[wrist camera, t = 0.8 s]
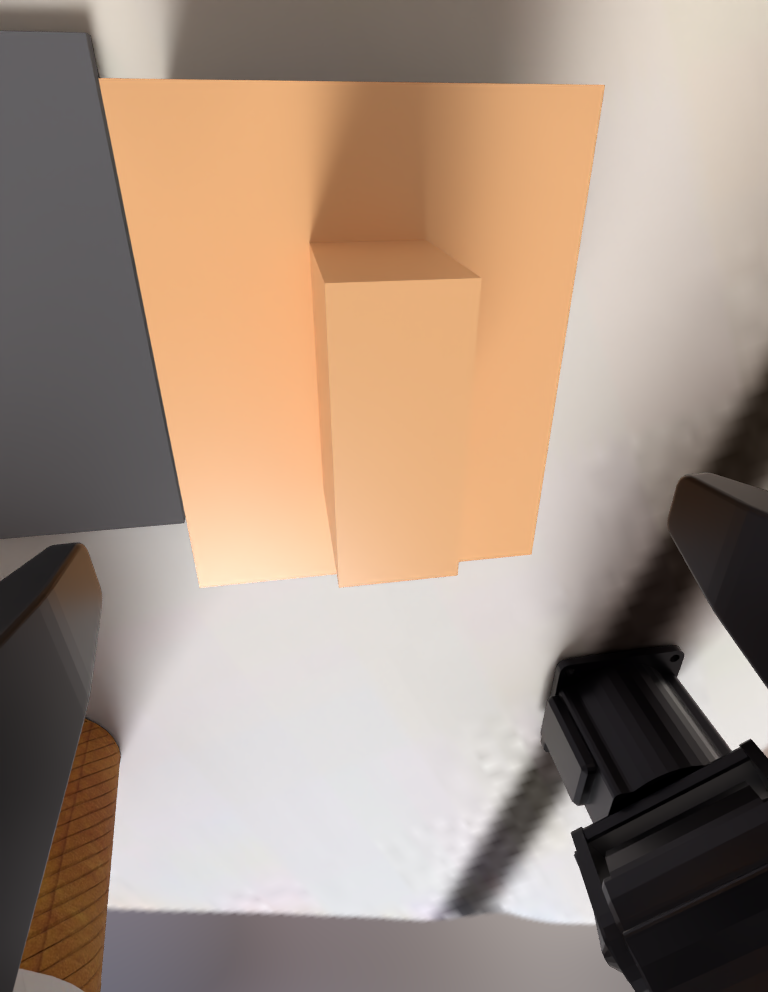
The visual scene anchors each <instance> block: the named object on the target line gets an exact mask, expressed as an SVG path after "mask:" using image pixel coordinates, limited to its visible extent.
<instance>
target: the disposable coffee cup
mask: <svg viewBox="0 0 768 992" xmlns="http://www.w3.org/2000/svg"><path fill="white" fill-rule="evenodd" d="M120 758H121V756H120V751H119V747H118V745H117V744H116V742H115V740H114V739H113V737H112V736H111V735H110V734H109V733H108V732H107V731H106V730H105V729H103V728H102V727H101V726H99V725H98V724H96V723H94V722H92V721H90V720H87V719H84V723H83V727H82V731H81V734H80V738H79V742H78V746H77V750H76V753H75V757H74V761H73V765H72V769H71V772H70V776H69V780H68V784H67V788H66V792H65V795H64V799H63V803H62V807H61V811H60V814H59V818H58V822H57V826H56V830H55V833H54V837H53V841H52V845H51V849H50V852H49V856H48V860H47V864H46V868H45V872H44V875H43V879H42V883H41V887H40V891H39V894H38V898H37V902H36V906H35V910H34V913H33V917H32V921H31V925H30V929H29V932H28V936H27V940H26V944H25V948H24V952H23V955H22V959H21V963H20V967H19V971H18V974H17V978H16V982H15V986H14V990H13V992H100V989H101V972H102V961H103V950H104V939H105V927H106V924H105V923H106V915H107V904H108V892H109V881H110V870H111V857H112V847H113V835H114V822H115V811H116V798H117V788H118V777H119V765H120Z"/></svg>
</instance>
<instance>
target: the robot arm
mask: <svg viewBox="0 0 768 992" xmlns="http://www.w3.org/2000/svg"><path fill="white" fill-rule="evenodd" d="M668 529H669V532H670V535H671V537H672V538H673V540H674V542H675V544H676V546H677V547H678V549H679V551H680V553H681V555H682V556H683V558H684V560H685V562H686V564H687V565H688V567H689V569H690V571H691V572H692V574H693V576H694V578H695V580H696V581H697V583H698V585H699V587H700V589H701V590H702V592H703V594H704V596H705V598H706V599H707V601H708V603H709V604H710V606H711V608H712V609H713V611H714V612H715V614H716V615H717V617H718V618H719V620H720V621H721V623H722V624H723V626H724V627H725V629H726V630H727V631H728V633H729V634H730V636H731V637H732V639H733V640H734V641H735V643H736V644H737V646H738V647H739V649H740V650H741V651H742V653H743V654H744V656H745V657H746V658H747V660H748V661H749V663H750V664H751V666H752V667H753V668H754V670H755V671H756V673H757V674H758V676H759V677H760V678H761V680H762V681H763V683H764V684H765V686H766V687H767V688H768V491H766V490H763V489H760V488H757V487H754V486H750V485H747V484H744V483H741V482H738V481H735V480H731V479H728V478H725V477H722V476H719V475H715V474H712V473H697V474H689V475H685V476H683V477H681V478H680V480H679V481H678V483H677V486H676V490H675V494H674V497H673V501H672V505H671V508H670V512H669V515H668ZM101 609H102V592H101V588H100V585H99V582H98V579H97V576H96V573H95V570H94V567H93V564H92V561H91V559H90V556H89V553H88V550H87V549H86V547H85V546H84V545H83V544H81V543H68V544H59V545H52V546H50V547H48V548H46V549H45V550H44V551H42V552H41V553H39V554H38V555H37V556H35V557H34V558H32V559H31V560H30V561H28V562H27V563H25V564H24V565H23V566H21V567H20V568H18V569H17V570H16V571H14V572H13V573H11V574H10V575H9V576H7V577H6V578H4V579H3V580H2V581H0V992H13V990H14V986H15V982H16V978H17V974H18V971H19V967H20V963H21V959H22V955H23V952H24V948H25V944H26V940H27V936H28V932H29V929H30V925H31V921H32V917H33V913H34V910H35V906H36V902H37V898H38V894H39V891H40V887H41V883H42V879H43V875H44V872H45V868H46V864H47V860H48V856H49V852H50V849H51V845H52V841H53V837H54V833H55V830H56V826H57V822H58V818H59V814H60V811H61V807H62V803H63V799H64V795H65V792H66V788H67V784H68V780H69V776H70V772H71V769H72V765H73V761H74V757H75V753H76V750H77V746H78V742H79V738H80V734H81V731H82V727H83V723H84V719H85V715H86V711H87V707H88V702H89V697H90V691H91V685H92V677H93V670H94V662H95V654H96V647H97V639H98V631H99V624H100V616H101ZM683 659H684V653H683V652H682V650H681V649H680V648H679V647H678V646H676V645H670V646H662V647H654V648H646V649H639V650H631V651H623V652H615V653H607V654H599V655H592V656H584V657H576V658H568V659H564V660H562V661H560V662H559V663H558V664H557V667H556V671H555V675H554V680H553V685H552V690H551V695H550V697H549V699H548V701H547V704H546V709H545V714H544V719H543V724H542V729H541V734H542V738H541V744H542V746H543V749H544V750H545V751H546V752H550V754H551V756H552V758H553V761H554V763H555V765H556V767H557V769H558V772H559V774H560V776H561V778H562V780H563V783H564V785H565V787H566V789H567V791H568V794H569V796H570V798H571V800H572V802H574V803H575V804H576V805H577V806H580V805H585V807H586V809H587V811H588V813H589V816H590V818H591V820H592V822H593V824H591V825H589V826H587V827H585V828H582V827H580V828H578V829H576V830H574V831H572V832H571V835H572V838H573V841H574V844H575V847H576V850H577V851H575V854H574V856H575V859H576V861H577V864H578V866H579V868H580V871H581V874H582V877H583V880H584V883H585V886H586V889H587V892H588V896H589V899H590V902H591V905H592V908H593V911H594V915H595V920H596V925H597V930H598V935H599V940H600V945H601V950H602V953H603V955H604V958H605V960H606V962H607V963H608V965H609V966H610V967H612V968H614V969H616V970H618V971H620V972H622V973H623V974H624V975H625V977H626V979H627V980H628V981H629V983H630V984H631V985H632V987H633V989H634V990H635V992H768V758H767V757H766V756H765V755H764V753H763V752H762V751H761V750H760V749H759V748H758V746H757V745H756V744H755V743H754V742H753V741H752V740H751V739H749V740H747V741H745V742H743V743H741V744H740V745H739V746H740V747H739V748H737V749H735V750H733V751H732V750H731V749H730V748H729V746H728V745H727V744H726V742H725V741H724V740H723V738H722V737H721V736H720V734H719V733H718V732H717V730H716V729H715V728H714V726H713V725H712V724H711V722H710V721H709V720H708V718H707V717H706V716H705V714H704V713H703V712H702V710H701V709H700V708H699V706H698V705H697V704H696V702H695V701H694V700H693V698H692V697H691V696H690V694H689V693H688V692H687V690H686V689H685V688H684V686H683V685H682V684H681V682H680V681H679V680H678V678H677V676H678V673H679V670H680V667H681V664H682V661H683Z"/></svg>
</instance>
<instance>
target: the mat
mask: <svg viewBox="0 0 768 992" xmlns="http://www.w3.org/2000/svg"><path fill="white" fill-rule="evenodd" d="M98 78H99V76H98V71H97V66H96V61H95V56H94V50H93V45H92V40H91V35H89V34H87V33H77V32H34V31H0V539H6V538H17V537H29V536H41V535H52V534H64V533H75V532H87V531H99V530H110V529H122V528H133V527H145V526H157V525H168V524H180V523H184V522H185V517H186V516H185V511H184V506H183V501H182V496H181V491H180V486H179V481H178V476H177V471H176V466H175V461H174V456H173V451H172V446H171V441H170V436H169V431H168V426H167V421H166V416H165V411H164V406H163V401H162V396H161V391H160V386H159V381H158V376H157V371H156V366H155V360H154V355H153V350H152V345H151V340H150V335H149V330H148V325H147V320H146V315H145V310H144V305H143V300H142V295H141V290H140V285H139V280H138V275H137V270H136V265H135V260H134V255H133V250H132V245H131V240H130V235H129V230H128V225H127V220H126V215H125V210H124V205H123V199H122V194H121V189H120V184H119V179H118V174H117V169H116V164H115V159H114V154H113V149H112V144H111V139H110V134H109V129H108V124H107V119H106V114H105V109H104V104H103V99H102V94H101V89H100V84H99V79H98Z"/></svg>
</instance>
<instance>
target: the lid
mask: <svg viewBox="0 0 768 992" xmlns="http://www.w3.org/2000/svg"><path fill="white" fill-rule="evenodd" d="M98 79H99V84H100V89H101V94H102V99H103V104H104V109H105V114H106V119H107V124H108V129H109V134H110V139H111V144H112V149H113V154H114V159H115V164H116V169H117V174H118V179H119V184H120V189H121V194H122V199H123V205H124V210H125V215H126V220H127V225H128V230H129V235H130V240H131V245H132V250H133V255H134V260H135V265H136V270H137V275H138V280H139V285H140V290H141V295H142V300H143V305H144V310H145V315H146V320H147V325H148V330H149V335H150V340H151V345H152V350H153V355H154V360H155V366H156V371H157V376H158V381H159V386H160V391H161V396H162V401H163V406H164V411H165V416H166V421H167V426H168V431H169V436H170V441H171V446H172V451H173V456H174V461H175V466H176V471H177V476H178V481H179V486H180V491H181V496H182V501H183V506H184V511H185V516H186V522H187V527H188V532H189V537H190V542H191V547H192V552H193V557H194V562H195V567H196V572H197V577H198V582H199V587H200V588H204V587H214V586H224V585H234V584H244V583H254V582H263V581H273V580H283V579H293V578H303V577H313V576H323V575H333V574H337V579H338V585H339V588H341V587H351V586H360V585H370V584H379V583H389V582H399V581H408V580H418V579H427V578H437V577H446V576H456V575H458V563H459V562H461V561H471V560H481V559H491V558H501V557H511V556H521V555H530V554H532V547H533V541H534V534H535V528H536V522H537V515H538V509H539V502H540V496H541V490H542V483H543V477H544V471H545V464H546V458H547V451H548V445H549V439H550V432H551V426H552V420H553V413H554V407H555V400H556V394H557V388H558V381H559V375H560V368H561V362H562V356H563V349H564V343H565V337H566V330H567V324H568V317H569V311H570V305H571V298H572V292H573V286H574V279H575V273H576V266H577V260H578V254H579V247H580V241H581V234H582V228H583V222H584V215H585V209H586V203H587V196H588V190H589V183H590V177H591V171H592V164H593V158H594V152H595V145H596V139H597V132H598V126H599V120H600V113H601V107H602V100H603V94H604V88H605V85H573V84H498V83H423V82H347V81H272V80H196V79H121V78H98Z"/></svg>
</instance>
